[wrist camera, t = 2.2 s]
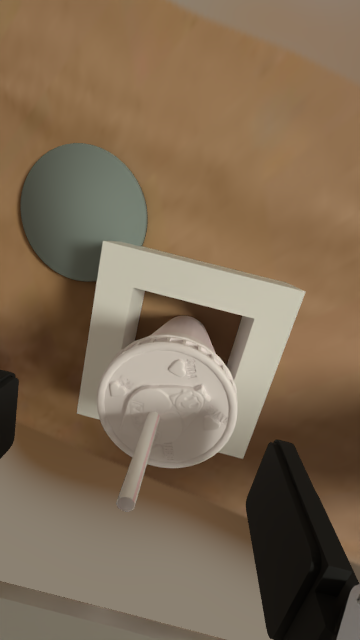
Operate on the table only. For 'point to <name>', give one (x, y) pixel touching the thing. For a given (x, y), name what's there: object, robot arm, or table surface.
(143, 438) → the lidded cup with straw
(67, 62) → the table surface
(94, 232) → the coaster
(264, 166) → the table surface
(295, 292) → the holder
